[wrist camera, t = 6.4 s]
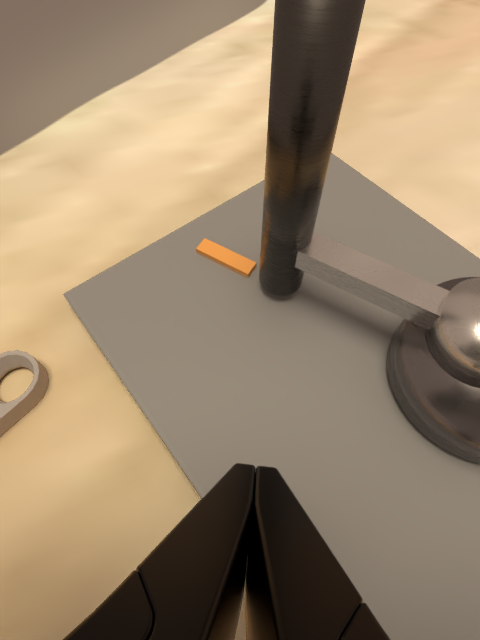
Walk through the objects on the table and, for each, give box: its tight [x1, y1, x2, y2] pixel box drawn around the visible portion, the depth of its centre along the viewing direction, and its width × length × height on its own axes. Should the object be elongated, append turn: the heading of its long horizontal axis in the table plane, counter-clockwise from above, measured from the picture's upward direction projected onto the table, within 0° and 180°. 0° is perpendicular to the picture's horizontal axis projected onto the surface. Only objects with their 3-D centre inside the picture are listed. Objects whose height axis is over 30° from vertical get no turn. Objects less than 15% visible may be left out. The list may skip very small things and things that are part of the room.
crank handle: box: [259, 0, 480, 464], centre depth 11 cm, size 8×13×11 cm, turn 83°
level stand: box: [63, 153, 480, 640], centre depth 17 cm, size 20×17×1 cm
